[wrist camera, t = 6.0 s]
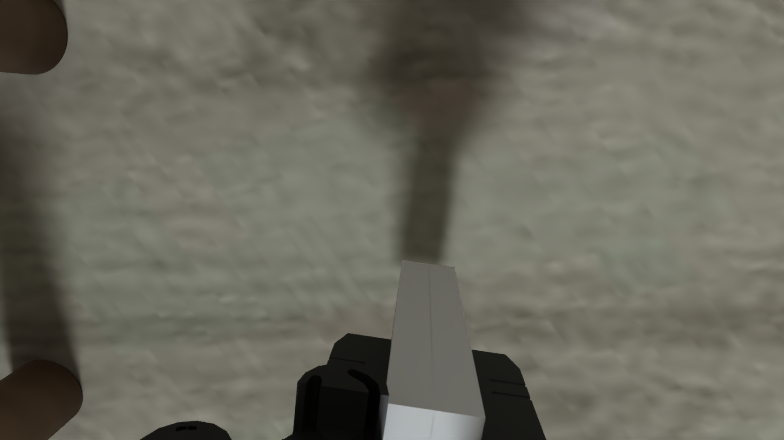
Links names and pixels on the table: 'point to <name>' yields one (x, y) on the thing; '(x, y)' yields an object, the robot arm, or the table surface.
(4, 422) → the post
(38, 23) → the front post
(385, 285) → the table surface
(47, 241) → the table surface
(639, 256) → the table surface
